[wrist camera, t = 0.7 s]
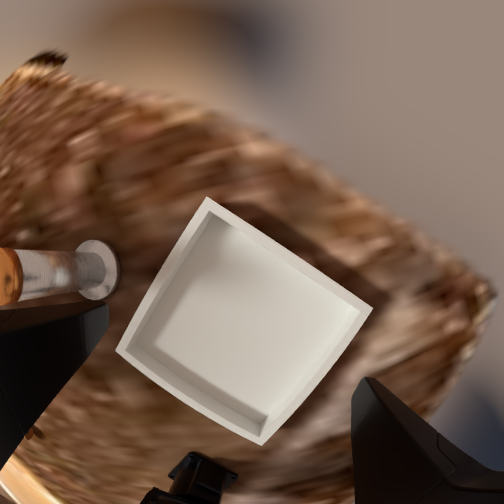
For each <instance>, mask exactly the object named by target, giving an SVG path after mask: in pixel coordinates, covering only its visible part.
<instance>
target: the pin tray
mask: <svg viewBox="0 0 504 504" xmlns="http://www.w3.org/2000/svg"><path fill="white" fill-rule="evenodd" d="M372 309H373V308H372V307H371V306H369V305H368V304H366V303H365V302H364V301H362V300H361V299H359V298H358V297H356V296H355V295H353V294H352V293H351V292H349V291H348V290H346V289H345V288H343V287H342V286H340V285H339V284H338V283H336V282H335V281H333V280H332V279H330V278H329V277H327V276H326V275H324V274H323V273H322V272H320V271H319V270H317V269H316V268H314V267H313V266H311V265H310V264H308V263H307V262H305V261H304V260H302V259H301V258H299V257H298V256H296V255H295V254H293V253H292V252H290V251H289V250H287V249H286V248H284V247H283V246H281V245H280V244H278V243H277V242H275V241H274V240H272V239H271V238H269V237H268V236H266V235H265V234H263V233H262V232H260V231H259V230H257V229H256V228H254V227H253V226H251V225H250V224H248V223H247V222H245V221H244V220H242V219H241V218H239V217H237V216H236V215H234V214H233V213H231V212H230V211H228V210H227V209H225V208H224V207H222V206H220V205H219V204H217V203H216V202H214V201H213V200H211V199H210V198H208V197H206V199H205V200H204V202H203V203H202V205H201V206H200V208H199V209H198V211H197V212H196V214H195V215H194V217H193V218H192V220H191V221H190V223H189V224H188V226H187V227H186V229H185V230H184V232H183V234H182V235H181V237H180V238H179V240H178V242H177V243H176V245H175V246H174V248H173V250H172V251H171V253H170V254H169V256H168V258H167V259H166V261H165V263H164V264H163V266H162V268H161V269H160V271H159V273H158V274H157V276H156V278H155V279H154V281H153V283H152V284H151V286H150V288H149V290H148V291H147V293H146V295H145V297H144V298H143V300H142V302H141V304H140V306H139V307H138V309H137V311H136V313H135V315H134V316H133V318H132V320H131V322H130V324H129V326H128V327H127V329H126V331H125V333H124V335H123V337H122V339H121V341H120V343H119V345H118V346H117V348H116V350H115V351H116V352H117V353H118V354H120V355H121V356H122V357H123V358H124V359H126V360H127V361H128V362H129V363H131V364H132V365H133V366H134V367H136V368H137V369H138V370H139V371H141V372H142V373H143V374H145V375H146V376H147V377H149V378H150V379H151V380H153V381H154V382H155V383H157V384H158V385H160V386H161V387H162V388H164V389H165V390H167V391H168V392H169V393H171V394H172V395H174V396H175V397H177V398H178V399H180V400H181V401H183V402H184V403H186V404H187V405H189V406H191V407H192V408H194V409H195V410H197V411H198V412H200V413H202V414H203V415H205V416H207V417H208V418H210V419H212V420H214V421H215V422H217V423H219V424H220V425H222V426H224V427H226V428H228V429H230V430H231V431H233V432H235V433H237V434H239V435H241V436H243V437H245V438H247V439H249V440H251V441H253V442H255V443H257V444H259V445H261V446H262V445H263V444H264V443H265V442H266V441H267V440H268V439H269V438H270V437H271V436H272V435H273V434H274V433H275V432H276V431H277V430H278V429H279V428H280V427H281V425H282V424H283V423H284V422H285V421H286V420H287V419H288V418H289V417H290V416H291V415H292V414H293V413H294V411H295V410H296V409H297V408H298V407H299V406H300V405H301V404H302V402H303V401H304V400H305V399H306V398H307V397H308V396H309V394H310V393H311V392H312V391H313V390H314V388H315V387H316V386H317V385H318V384H319V382H320V381H321V380H322V379H323V377H324V376H325V375H326V374H327V372H328V371H329V370H330V369H331V367H332V366H333V365H334V363H335V362H336V361H337V359H338V358H339V357H340V355H341V354H342V353H343V351H344V350H345V349H346V347H347V346H348V345H349V343H350V342H351V340H352V339H353V338H354V336H355V335H356V333H357V332H358V330H359V329H360V327H361V326H362V325H363V323H364V322H365V320H366V319H367V317H368V316H369V314H370V312H371V311H372Z"/></svg>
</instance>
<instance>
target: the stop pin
mask: <svg viewBox="0 0 504 504" xmlns="http://www.w3.org/2000/svg"><path fill="white" fill-rule="evenodd" d="M120 274H121V268H120V262H119V258H118V256H117V254H116V252H115V250H114V249H113V248H112V247H111V246H110V245H109V244H108V243H106V242H104V241H99V240H88V241H85V242H84V243H82V244H81V245H80V246H79V247H78V248H77V250H76V251H75V252H74V251H42V250H13V249H12V248H0V306H1V305H7V304H13V303H16V302H17V301H22V300H28V299H34V298H40V297H46V296H52V295H57V294H63V293H69V292H75V291H79V292H80V293H81V294H82V295H83V296H84V297H86V298H88V299H91V300H99V299H103V298H106V297H108V296H110V295H111V294H112V293H113V292H114V291H115V290H116V288H117V286H118V284H119V281H120Z"/></svg>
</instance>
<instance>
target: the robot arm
mask: <svg viewBox="0 0 504 504" xmlns="http://www.w3.org/2000/svg"><path fill="white" fill-rule="evenodd" d="M108 326H109V306H108V304H107V303H105V302H102V301H100V300H93V301H85V302H77V303H68V304H59V305H50V306H41V307H31V308H21V309H10V310H0V471H1V469H2V468H3V466H4V465H5V463H6V462H7V461H8V459H9V458H10V456H11V455H12V453H13V452H14V451H15V449H16V448H17V446H18V445H19V444H20V442H21V441H22V440H23V438H24V437H25V436H24V435H26V434H27V433H28V431H29V430H30V429H31V427H32V426H33V425H34V423H35V422H36V421H37V419H38V418H39V417H40V416H41V414H42V413H43V412H44V410H45V409H46V408H47V407H48V405H49V404H50V403H51V402H52V400H53V399H54V398H55V397H56V395H57V394H58V393H59V392H60V390H61V389H62V388H63V387H64V386H65V384H66V383H67V382H68V381H69V380H70V378H71V377H72V376H73V375H74V374H75V372H76V371H77V370H78V369H79V368H80V366H81V365H82V364H83V363H84V362H85V361H86V359H87V358H88V357H89V355H90V354H91V352H92V351H93V349H94V348H95V347H96V345H97V344H98V342H99V341H100V339H101V338H102V336H103V335H104V333H105V332H106V331H107V329H108ZM351 444H352V456H353V470H354V490H355V504H504V471H495V470H491V469H489V468H487V467H485V466H484V465H482V464H481V463H479V462H478V461H476V460H475V459H473V458H472V457H471V456H469V455H468V454H466V453H465V452H463V451H462V450H461V449H459V448H458V447H456V446H455V445H454V444H452V443H451V442H450V441H449V440H447V439H446V438H445V437H444V436H443V435H441V434H440V433H438V432H437V430H435V429H434V428H433V427H432V426H431V425H429V424H428V423H427V422H426V421H425V420H423V419H422V418H421V417H420V416H419V415H418V414H416V413H415V412H414V411H413V410H412V409H410V408H409V407H408V406H407V405H406V404H405V403H403V402H402V401H401V400H400V399H399V398H398V397H396V396H395V395H394V394H393V393H392V392H391V391H389V390H388V389H387V388H386V387H385V386H384V385H382V384H381V383H380V382H379V381H378V380H377V379H375V378H372V377H363V378H362V379H361V381H360V383H359V384H358V386H357V388H356V390H355V391H354V393H353V395H352V399H351ZM168 477H169V478H171V479H173V480H174V481H173V484H172V486H171V488H170V490H169V492H168V493H167V492H165V491H162V490H159V489H158V488H156V487H153V489H152V490H151V491H149V492H148V493H147V494H146V496H145V497H144V499H143V500H142V501H141V503H140V504H221V501H222V496H223V492H224V490H225V489H226V488H227V487H229V486H230V485H231V484H232V483H234V482H235V481H236V480H237V479H238V475H237V474H235V473H233V472H231V471H229V470H227V469H225V468H223V467H221V466H218V465H216V464H214V463H212V462H211V461H209V460H207V459H205V458H203V457H201V456H199V455H197V454H196V453H194V452H189V453H188V454H187V455H186V456H185V457H184V458H183V459H182V460H181V461H180V462H179V463H178V465H177V466H176V467H175V468H174V469H173V470H172V471H171V472H170V473H169V474H168Z"/></svg>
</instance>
